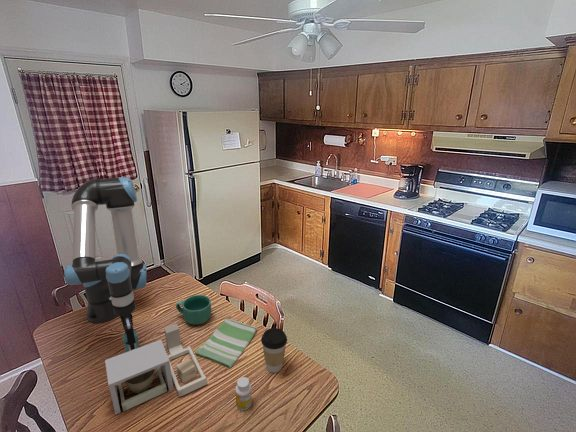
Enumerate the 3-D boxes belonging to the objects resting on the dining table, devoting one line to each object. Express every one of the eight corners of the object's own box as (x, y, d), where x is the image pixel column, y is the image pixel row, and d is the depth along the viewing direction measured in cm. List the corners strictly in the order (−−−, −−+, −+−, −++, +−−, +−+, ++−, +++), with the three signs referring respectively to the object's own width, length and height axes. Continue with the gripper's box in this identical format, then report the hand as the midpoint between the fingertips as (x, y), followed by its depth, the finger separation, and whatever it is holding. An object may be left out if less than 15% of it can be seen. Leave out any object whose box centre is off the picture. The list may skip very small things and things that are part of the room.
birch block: (177, 375, 118) (176, 365, 116) (189, 368, 121) (188, 358, 119) (183, 383, 114) (182, 373, 112) (196, 376, 117) (195, 366, 116)
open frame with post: (160, 347, 130) (157, 329, 127) (184, 338, 136) (182, 321, 132) (179, 397, 108) (176, 377, 105) (207, 384, 114) (205, 365, 111)
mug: (216, 313, 152) (215, 297, 149) (203, 330, 141) (201, 313, 138) (186, 307, 156) (184, 291, 153) (171, 323, 145) (169, 306, 142)
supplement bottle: (236, 396, 109) (235, 375, 106) (252, 395, 110) (251, 374, 107) (235, 411, 104) (234, 389, 101) (251, 410, 105) (250, 388, 102)
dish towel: (193, 355, 128) (192, 350, 127) (225, 321, 148) (225, 316, 147) (230, 369, 121) (230, 364, 120) (259, 331, 141) (258, 326, 140)
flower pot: (146, 402, 107) (143, 386, 104) (120, 396, 109) (116, 381, 106) (162, 378, 116) (160, 363, 114) (138, 374, 118) (135, 359, 115)
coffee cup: (290, 360, 125) (290, 330, 120) (281, 379, 116) (281, 347, 111) (267, 354, 128) (267, 324, 123) (257, 372, 119) (256, 341, 114)
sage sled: (113, 356, 125) (109, 338, 122) (150, 343, 132) (147, 325, 129) (123, 411, 103) (118, 391, 100) (166, 391, 111) (163, 372, 108)
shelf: (111, 388, 112) (104, 360, 107) (165, 366, 121) (161, 339, 117) (115, 414, 102) (108, 385, 98) (173, 388, 112) (169, 360, 108)
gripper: (109, 293, 123) (119, 341, 131) (115, 317, 110) (125, 368, 118) (130, 288, 127) (138, 334, 135) (138, 310, 114) (146, 360, 122)
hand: (132, 350), depth 127 cm, fingers closed on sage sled, 4 cm apart
